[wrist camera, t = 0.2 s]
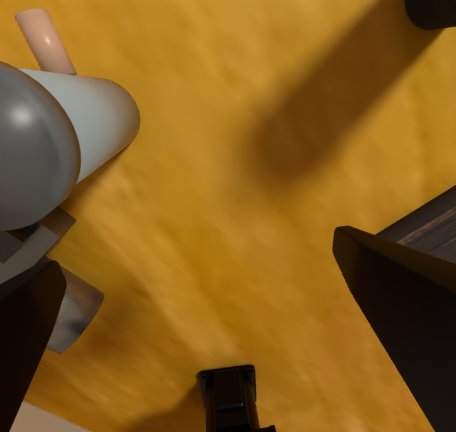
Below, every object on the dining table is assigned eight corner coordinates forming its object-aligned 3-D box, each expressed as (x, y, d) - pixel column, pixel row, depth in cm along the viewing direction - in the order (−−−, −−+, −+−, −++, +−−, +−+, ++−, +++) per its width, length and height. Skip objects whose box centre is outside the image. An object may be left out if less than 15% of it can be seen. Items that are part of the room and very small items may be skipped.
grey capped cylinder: (153, 141, 21) (97, 204, 10) (88, 162, 21) (-49, 249, 10) (105, 17, 18) (-80, -126, 6) (26, 43, 18) (-301, -48, 6)
